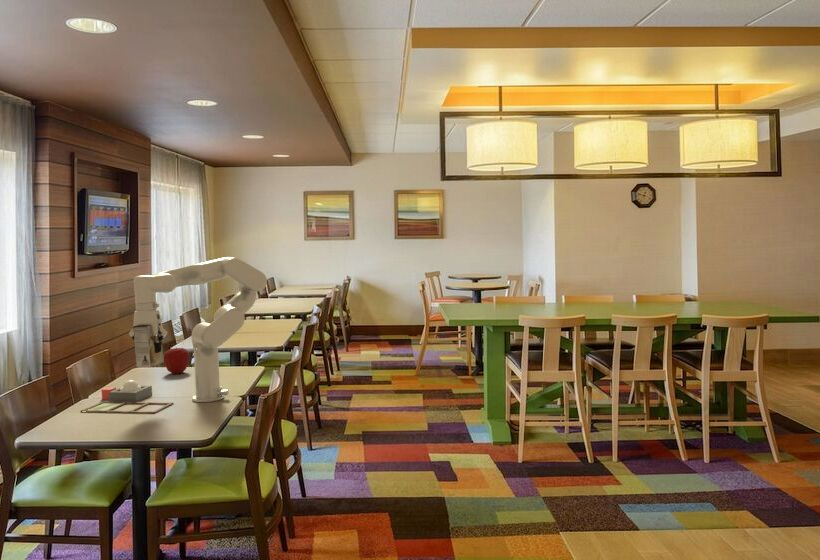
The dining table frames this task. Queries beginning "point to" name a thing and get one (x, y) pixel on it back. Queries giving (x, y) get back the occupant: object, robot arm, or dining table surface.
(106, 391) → the red die
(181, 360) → the apple
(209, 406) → the dining table surface
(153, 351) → the coffee box
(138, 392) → the dome housing
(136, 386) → the dome
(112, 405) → the frame
